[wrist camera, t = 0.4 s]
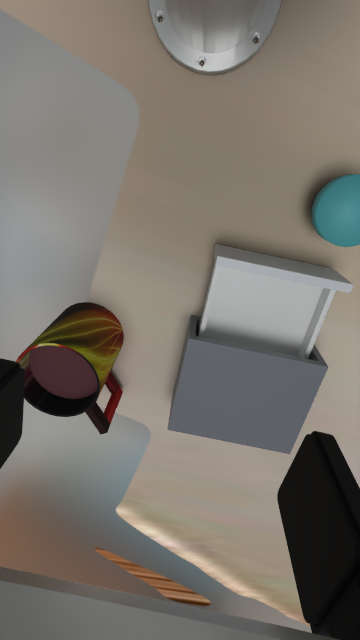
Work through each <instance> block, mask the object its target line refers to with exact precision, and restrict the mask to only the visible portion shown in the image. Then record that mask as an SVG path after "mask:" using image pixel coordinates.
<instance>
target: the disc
mask: <svg viewBox="0 0 360 640" xmlns="http://www.w3.org/2000/svg"><path fill="white" fill-rule="evenodd" d="M311 217H312V223H313V226H314V228H315V230H316V232H317V233H318V234H319V235H320V236H321V237H322V238H324V239H325V240H327V241H329V242H330V243H332V244H334V245H337V246H342V247H350V246H356V245H359V244H360V175H354V174H351V175H344V176H340V177H338V178H335V179H333V180H332V181H330V182H329V183H327V184H326V185H325V186H324V187H323V188H322V189H321V190H320V192H319V193H318V195H317V196H316V198H315V201H314V203H313V206H312V212H311Z"/></svg>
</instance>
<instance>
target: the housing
mask: <svg viewBox="0 0 360 640" xmlns="http://www.w3.org/2000/svg"><path fill="white" fill-rule="evenodd" d="M200 320H201V317H197V316H193V315H191V317H190V321H189V326H188V330H187V335H186V339H185V343H184V348H183V352H182V357H181V361H180V365H179V370H178V374H177V378H176V383H175V387H174V392H173V396H172V402H171V409H170V416H169V423H168V430H172V431H177V432H182V433H187V434H192V435H197V436H202V437H207V438H212V439H217V440H222V441H227V442H232V443H237V444H242V445H247V446H252V447H257V448H262V449H267V450H272V451H277V452H282V453H287V454H290V453H291V450H292V448H293V446H294V444H295V441H296V439H297V437H298V435H299V432H300V430H301V428H302V425H303V423H304V421H305V419H306V416H307V414H308V412H309V410H310V407H311V405H312V403H313V401H314V398H315V396H316V394H317V391H318V389H319V387H320V385H321V382H322V380H323V378H324V376H325V373H326V371H327V369H328V366H327V364H326V363H325V361H324V359H323V358H322V356H321V355H320V353H319V352H318V350H317V348H316V347H315V345H314V346H313V348H312V350H311V353H310V355H309V358H308V359H305V358H300V357H295V356H291V355H286V354H281V353H276V352H271V351H266V350H261V349H256V348H252V347H247V346H242V345H237V344H232V343H227V342H222V341H217V340H213V339H208V338H203V337H198V336H197V332H198V328H199V324H200Z"/></svg>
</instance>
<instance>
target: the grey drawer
mask: <svg viewBox="0 0 360 640" xmlns="http://www.w3.org/2000/svg"><path fill="white" fill-rule="evenodd" d="M214 258H215V262H214V266H213V270H212V274H211V278H210V283H209V287H208V291H207V295H206V299H205V303H204V307H203V311H202V316H201V320H200V324H199V328H198V332H197V336H198V337H203V338H208V339H213V340H217V341H222V342H227V343H232V344H237V345H242V346H247V347H252V348H256V349H261V350H266V351H271V352H276V353H281V354H286V355H291V356H295V357H300V358H305V359H308V358H309V355H310V353H311V350H312V348H313V346H314V343H315V341H316V338H317V336H318V333H319V331H320V328H321V326H322V323H323V321H324V319H325V316H326V314H327V311H328V309H329V306H330V304H331V301H332V299H333V296H334V294H335V292H336V291H341V292H346V293H350V292H351V290H352V287H353V284H352V283H351V282H350V281H348V280H347V279H346V278H344V277H343V276H342V275H340V274H339V273H338V272H336V271H335V270H334V269H332V268H328V267H323V266H318V265H313V264H309V263H304V262H299V261H294V260H290V259H285V258H280V257H275V256H271V255H266V254H261V253H256V252H252V251H247V250H242V249H237V248H233V247H228V246H223V245H218V244H215V249H214Z"/></svg>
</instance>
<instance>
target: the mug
mask: <svg viewBox="0 0 360 640" xmlns="http://www.w3.org/2000/svg"><path fill="white" fill-rule="evenodd" d="M123 339H124V336H123V330H122V326H121V324H120V322H119V320H118V319H117V318H116V317H115V315H114V314H113V313H111V312H110V311H109V310H108V309H106V308H104V307H103V306H100V305H98V304H94V303H86V302H84V303H77V304H74V305H72V306H70V307H69V308H67V309H66V310H65V311H64V312H63V313H62V314H61V315H60V316H59V317H58V318H57V319H56V320H55V321H54V322H53V323H52V324H51V325H50V326H49V327H48V328H47V329H46V330H45V331H44V332H43V333H42V334H41V335H40V336H39V337H38V338H37V339H36V340H35V341H34V342H33V343H32V344H31V345H30V346H29V347H28V348H27V349H26V350H25V351H24V352H23V353H22V354H21V355H20V356H19V357H18V359H17V361H16V362H18V363H20V366H21V368H24V369H25V384H24V398H25V400H26V401H27V402H28V403H30V404H31V405H32V406H34V407H35V408H37V409H38V410H40V411H42V412H44V413H47V414H50V415H54V416H60V417H69V416H76V415H79V414H82V413H84V412H86V414H87V415H88V417H89V418H90V419H91V421H92V422H93V424H94V425H95V427H96V428H97V429H98V431H99V433H100V434H104V433H107V432H108V429H109V426H110V423H111V421H112V418H113V415H114V413H115V410H116V408H117V406H118V403H119V401H120V398H121V395H122V393H123V391H122V389H121V388H120V386H119V384H118V383H117V381H116V380H115V378H114V377H113V375H112V373H111V372H110V371H111V369H112V367H113V365H114V362H115V360H116V358H117V356H118V354H119V352H120V350H121V347H122V345H123ZM104 384H105V385H106V386H107V388H108V389H109V391H110V392H111V397H110V399H109V402H108V404H107V406H106V409H105V411H104V413H103V412H102V410H101V409H100V407H99V406H98V404H97V403H96V401H97V399H98V397H99V394H100V392H101V390H102V388H103V386H104Z"/></svg>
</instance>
